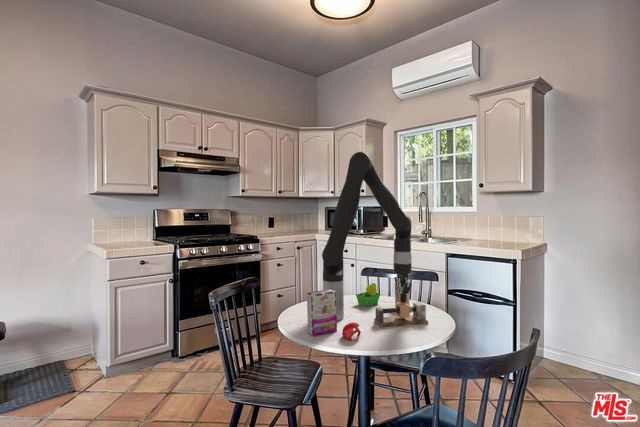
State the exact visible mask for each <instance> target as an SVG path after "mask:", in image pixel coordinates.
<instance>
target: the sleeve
mask: <svg viewBox="0 0 640 427" xmlns="http://www.w3.org/2000/svg"><path fill="white" fill-rule="evenodd" d="M410 306H411V305H410V304H409V305H408V304H407V303H402V302H401V292H399V302H396V308H400V313H395V315H396V316H399V317H400V318H410V315H411V313H410Z"/></svg>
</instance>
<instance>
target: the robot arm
mask: <svg viewBox="0 0 640 427" xmlns="http://www.w3.org/2000/svg"><path fill="white" fill-rule="evenodd" d="M363 182H364V183H365V184H366V185H367V187H368V188H369V189H370V191H371V194H373V196H374V199H375V200H376V202H377V203H378V205H379V206H380V208H381V209H382V211H383V212H384V213H385V214H386V216H387V218H388V220H389V222H390V224H391V225H392V227H393V228H394V229H395V237H394V240H393V243H394V244H393V257H392V258H393V272H394V273H395V274H396V276H395V277H393V278H394V285H395V284H396V288H397V290H398V292H401V302H402V303H406V294H407V293H409V294H410V290H411V287H412V282H409V279H410V278H409V274H411V273H412V270H413V269H412V265H413V264H412V262H413V260H412V258H413V257H412V242H411V239H412V238H411V236H412V219H411V218H410V217H409V216H408V215H406V214H405V212H404V211H403V210H402V208H401V207H400V204H399V202H398V201H397V199H396V197H395V196H394V195H393V193H392V192H391V191H390V189H389V188H388V187H387V185H386V184H385V183H384V182H383V181H382V179H381V178H380V176H379V174H378V172H377V170H376V169H375V167H374V165H373V161H372V159H371V158H370V156H369V155H368V154H367V153H366V152H363V151H357V152H354V154H352V156H351V157H350V158H349V162H348V167H347V173H346V176H345V182H344V184H343V187H342V189H341V192H340V194H339V198H338V201H337V204H336V207H335V209H334V210H335V211H334V215H333V218H332V223H331V229H330V232H329V233H330V234H329V237H328V239H327V242H326V244H325V247H324V248H323V250H322V254H321V257H322V290H328V289H332V290H334V291H336V314H337V315H336V316H337V322H338V321H342V320H343V319H344V317H345V313H344V309H345V308H344V250H345V246H346V241H347V238H348V235H349V233H350V231H351V229H352V226H353V224H354V221H355V218H356V215H357V212H358V209H359V205H360V199H361V191H362V190H361V189H362V186H363Z"/></svg>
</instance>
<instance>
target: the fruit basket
mask: <svg viewBox="0 0 640 427" xmlns="http://www.w3.org/2000/svg"><path fill="white" fill-rule="evenodd" d="M380 296H381V293H379V292H378V289H377V284H376V283H374V282H372V283H371V284H369V285H368V286H366V288H365V292H361V293H356V294H355V297H356V300H357V303H358V305H359V306H361V307H369V306H373V305H377V304H378V303H379V300H380Z"/></svg>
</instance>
